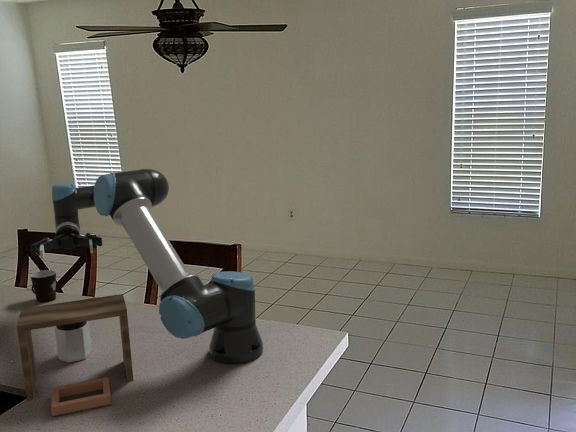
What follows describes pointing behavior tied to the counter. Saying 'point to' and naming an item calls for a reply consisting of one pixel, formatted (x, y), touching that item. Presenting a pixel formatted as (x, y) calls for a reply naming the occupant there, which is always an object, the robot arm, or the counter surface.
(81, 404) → the tray
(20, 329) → the archway
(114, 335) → the counter surface
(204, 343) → the counter surface
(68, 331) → the jar
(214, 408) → the counter surface
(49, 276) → the coffee mug
